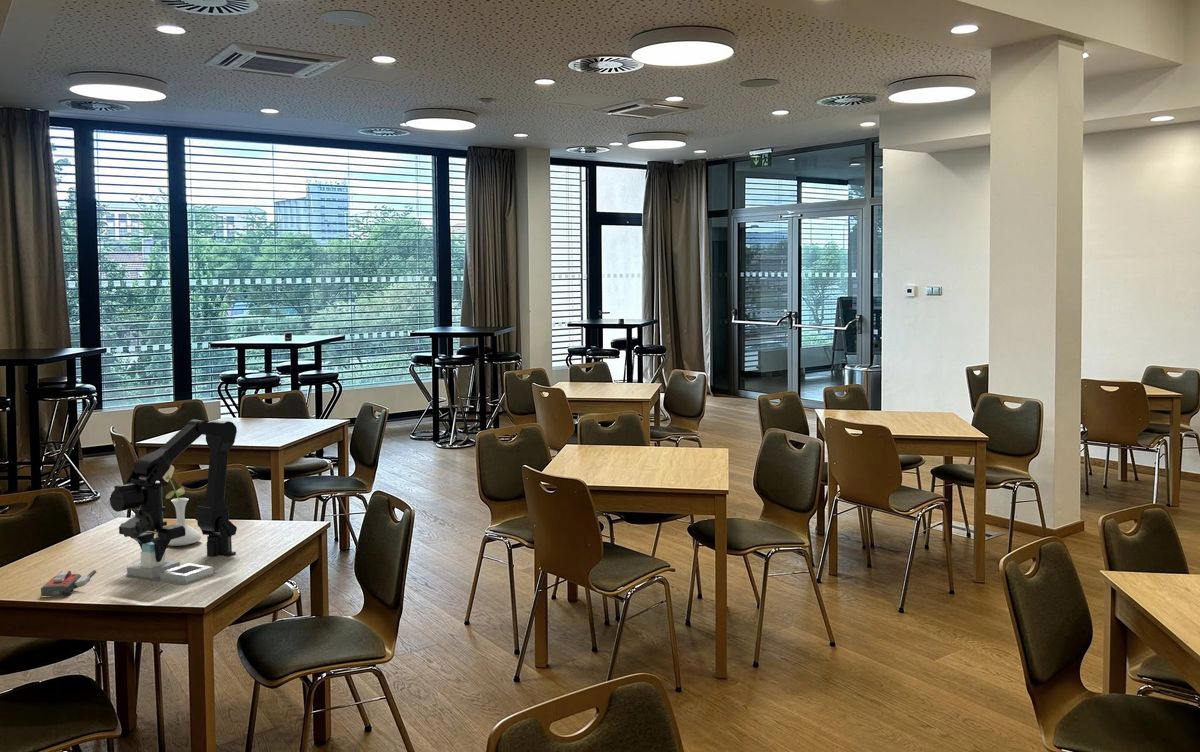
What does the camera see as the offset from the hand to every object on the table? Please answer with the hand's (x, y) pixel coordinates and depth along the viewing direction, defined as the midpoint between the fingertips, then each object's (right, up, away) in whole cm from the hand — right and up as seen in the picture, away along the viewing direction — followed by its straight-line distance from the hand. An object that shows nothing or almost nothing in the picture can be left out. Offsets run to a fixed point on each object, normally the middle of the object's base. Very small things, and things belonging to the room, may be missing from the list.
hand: (153, 560), depth 266 cm
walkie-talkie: (-17, -5, -10) cm, 21 cm away
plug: (0, -3, 0) cm, 3 cm away
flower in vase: (-7, -1, +33) cm, 33 cm away
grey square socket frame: (0, -4, 0) cm, 4 cm away
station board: (+5, -4, -2) cm, 7 cm away
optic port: (+11, -4, -4) cm, 13 cm away
